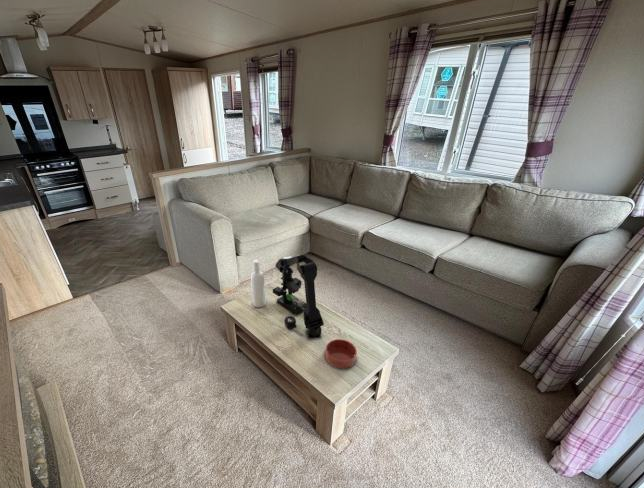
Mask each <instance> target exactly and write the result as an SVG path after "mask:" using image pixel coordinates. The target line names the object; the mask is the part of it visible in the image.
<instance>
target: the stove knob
mask: <svg viewBox="0 0 644 488" xmlns="http://www.w3.org/2000/svg"><path fill="white" fill-rule="evenodd" d="M302 301H303V299H302V298H298V299H296V308H302Z"/></svg>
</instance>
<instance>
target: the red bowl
mask: <svg viewBox="0 0 644 488" xmlns="http://www.w3.org/2000/svg"><path fill="white" fill-rule="evenodd" d="M357 355H358V353H357V349H356V346H355V345H354V344H353V343H352V342H350V341H348V340H346V339H341V338H339V339H333V340H331V341H329V342H328V343H327V344H326V347H325V359H326V361H327V362H328V364H329V365H331V366H332V367H335V368H337V369H347V368H351V367H352V366H353V365H355V363H356V361H357Z"/></svg>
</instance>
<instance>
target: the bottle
mask: <svg viewBox="0 0 644 488" xmlns="http://www.w3.org/2000/svg"><path fill="white" fill-rule="evenodd" d="M260 265H261V263H260V260H259V259H254V260H253V261H252V267H253V271H252V273H251V275H250V285H251V286H250V287H251V295H252V296H251V297H252V305H253V306H254V307H255V308H263V307H264V306H266V301H267V300H266V286H265V274H264V273H263V272H262V271H261V266H260Z"/></svg>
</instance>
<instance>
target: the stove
mask: <svg viewBox="0 0 644 488" xmlns="http://www.w3.org/2000/svg"><path fill="white" fill-rule="evenodd" d="M292 296H293V298H294V299H293V301H288V300H287V299H286V300H285V299H284V298H283V297H282V296H279V297H278V298H277V299H276V303H277V304H279V305H280V306H281V307H283V308H284V309H286V310H287V311H289V312H290V313H292V314H293V315H295V316H296V317H297V316H298V315H300V314H301V313H304V312H303V309H304V308H306V306H307V305H306V301H304V300H302V308H296V299H299V298H298V297H297V296H295V295H294V294H292Z"/></svg>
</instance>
